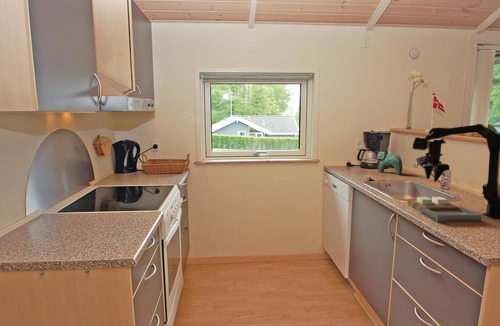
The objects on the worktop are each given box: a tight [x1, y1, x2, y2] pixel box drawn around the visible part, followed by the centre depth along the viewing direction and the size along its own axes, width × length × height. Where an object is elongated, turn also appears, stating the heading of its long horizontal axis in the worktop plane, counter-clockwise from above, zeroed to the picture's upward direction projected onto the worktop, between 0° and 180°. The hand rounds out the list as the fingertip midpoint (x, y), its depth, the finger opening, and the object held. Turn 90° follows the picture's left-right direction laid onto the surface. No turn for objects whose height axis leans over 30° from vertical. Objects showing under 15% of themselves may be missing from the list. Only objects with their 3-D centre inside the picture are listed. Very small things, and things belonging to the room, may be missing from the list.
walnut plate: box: [407, 199, 460, 213], centre depth 162 cm, size 14×18×3 cm
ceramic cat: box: [376, 148, 403, 176], centre depth 254 cm, size 20×6×20 cm, turn 40°
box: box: [420, 206, 483, 224], centre depth 148 cm, size 13×20×4 cm, turn 92°
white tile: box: [431, 196, 449, 204], centre depth 162 cm, size 5×5×2 cm
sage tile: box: [416, 196, 432, 204], centre depth 162 cm, size 5×5×2 cm
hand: (431, 180), depth 169 cm, fingers open, 6 cm apart
